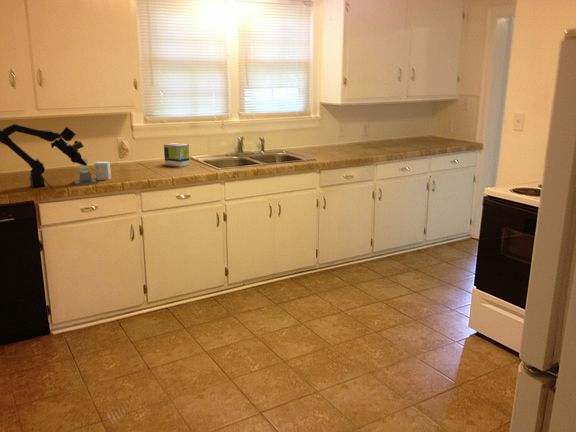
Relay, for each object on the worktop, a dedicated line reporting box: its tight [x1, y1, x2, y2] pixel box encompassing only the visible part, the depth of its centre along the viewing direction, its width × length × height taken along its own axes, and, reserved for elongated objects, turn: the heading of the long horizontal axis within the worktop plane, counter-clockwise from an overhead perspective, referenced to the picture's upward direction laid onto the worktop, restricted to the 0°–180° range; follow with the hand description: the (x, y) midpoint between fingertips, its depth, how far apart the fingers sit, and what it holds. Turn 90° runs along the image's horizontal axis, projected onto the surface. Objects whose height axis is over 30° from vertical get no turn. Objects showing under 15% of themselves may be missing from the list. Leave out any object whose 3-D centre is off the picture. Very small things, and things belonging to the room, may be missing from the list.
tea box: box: [163, 142, 190, 168], centre depth 376 cm, size 15×10×15 cm, turn 58°
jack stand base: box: [73, 170, 98, 186], centre depth 321 cm, size 12×12×6 cm
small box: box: [94, 161, 112, 181], centre depth 331 cm, size 8×6×10 cm
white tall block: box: [79, 157, 89, 173], centre depth 319 cm, size 4×4×10 cm
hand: (86, 164), depth 319 cm, fingers closed on white tall block, 4 cm apart
